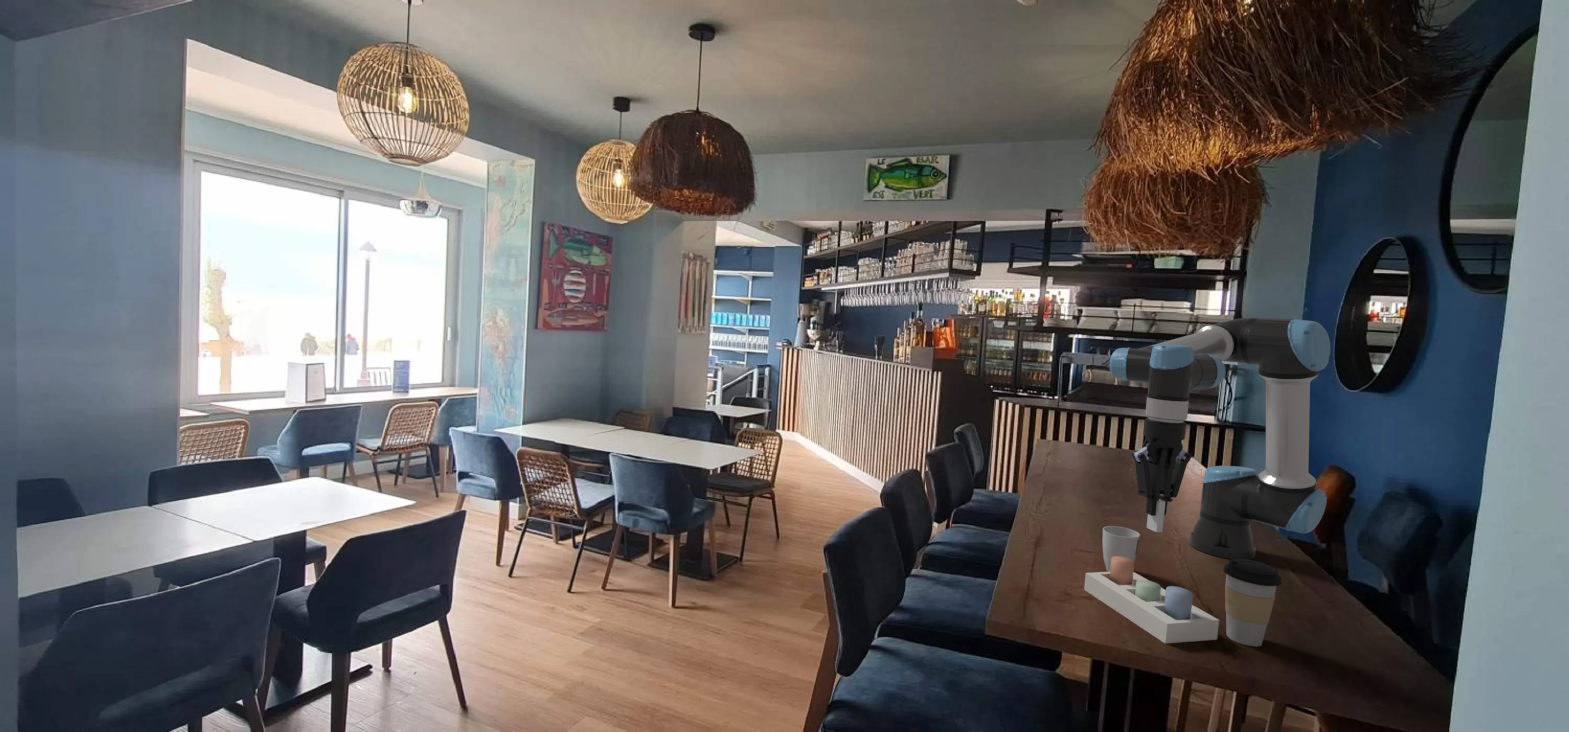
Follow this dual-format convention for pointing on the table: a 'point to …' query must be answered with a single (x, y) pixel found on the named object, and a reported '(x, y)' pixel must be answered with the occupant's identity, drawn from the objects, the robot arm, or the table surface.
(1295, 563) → the table surface
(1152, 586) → the sage cap
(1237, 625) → the coffee cup
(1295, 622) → the table surface
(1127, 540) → the cup
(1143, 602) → the button board
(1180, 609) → the slate cap
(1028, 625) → the table surface
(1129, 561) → the terracotta cap
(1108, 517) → the table surface
